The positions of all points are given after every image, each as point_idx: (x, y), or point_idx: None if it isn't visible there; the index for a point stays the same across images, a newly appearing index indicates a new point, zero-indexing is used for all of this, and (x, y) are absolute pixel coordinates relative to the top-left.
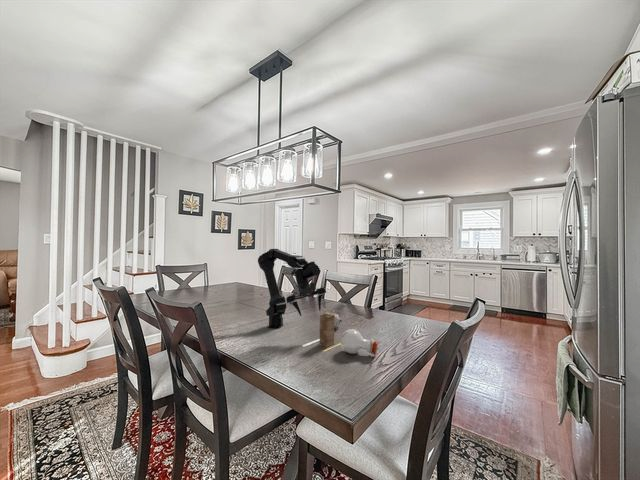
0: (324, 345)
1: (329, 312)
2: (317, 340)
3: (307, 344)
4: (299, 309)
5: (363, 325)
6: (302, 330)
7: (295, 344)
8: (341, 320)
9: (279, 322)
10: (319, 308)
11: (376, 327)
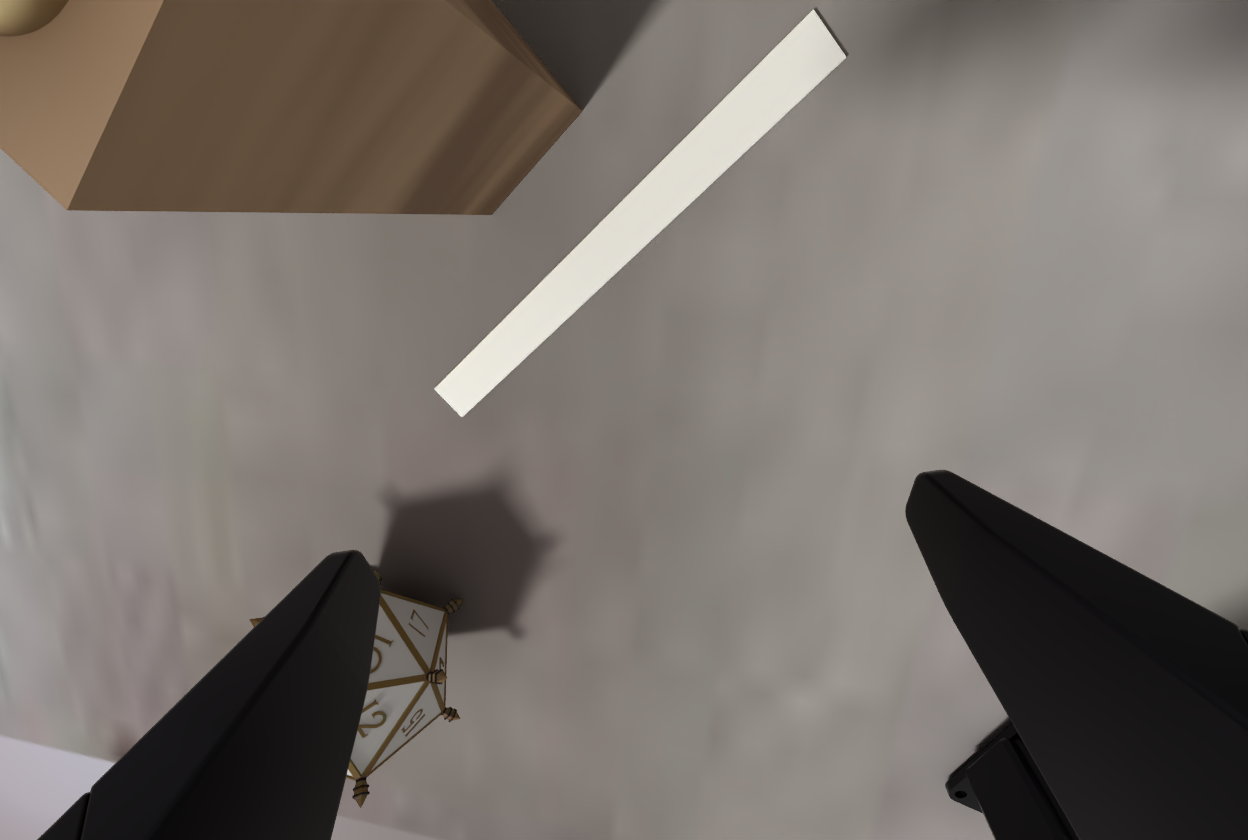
0: (516, 31)
1: (355, 796)
2: (599, 255)
3: (750, 104)
4: (1120, 626)
5: (151, 621)
6: (746, 604)
7: (928, 126)
8: (253, 620)
9: (1049, 789)
10: (312, 598)
11: (39, 556)
